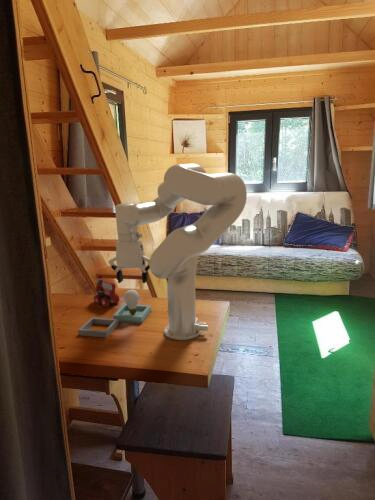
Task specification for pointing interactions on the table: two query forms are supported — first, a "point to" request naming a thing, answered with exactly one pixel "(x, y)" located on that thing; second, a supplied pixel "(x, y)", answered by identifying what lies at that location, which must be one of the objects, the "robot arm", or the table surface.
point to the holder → (98, 333)
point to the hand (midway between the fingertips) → (132, 282)
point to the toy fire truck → (105, 293)
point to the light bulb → (131, 300)
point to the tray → (138, 317)
